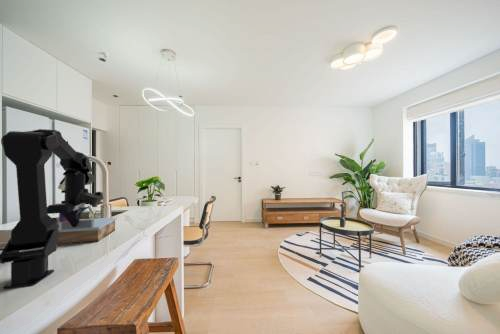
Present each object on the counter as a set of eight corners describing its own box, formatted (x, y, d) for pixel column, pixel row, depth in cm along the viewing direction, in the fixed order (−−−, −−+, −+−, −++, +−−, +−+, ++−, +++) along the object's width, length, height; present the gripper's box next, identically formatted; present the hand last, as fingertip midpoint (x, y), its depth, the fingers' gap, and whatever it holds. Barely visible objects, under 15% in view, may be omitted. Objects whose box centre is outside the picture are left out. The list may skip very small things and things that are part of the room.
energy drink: (64, 234, 83) (64, 207, 83) (55, 233, 84) (55, 207, 84) (78, 230, 88) (78, 205, 88) (69, 229, 89) (69, 205, 89)
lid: (98, 229, 74) (98, 219, 74) (53, 232, 70) (53, 222, 70) (116, 219, 88) (116, 211, 88) (80, 221, 85) (80, 212, 85)
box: (97, 241, 74) (97, 229, 74) (56, 245, 71) (56, 232, 71) (115, 230, 88) (115, 220, 88) (80, 232, 84) (80, 222, 84)
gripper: (83, 188, 64) (83, 233, 64) (111, 184, 82) (110, 219, 82) (44, 189, 61) (43, 235, 61) (81, 185, 80) (81, 221, 79)
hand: (74, 226), depth 71 cm, fingers closed
